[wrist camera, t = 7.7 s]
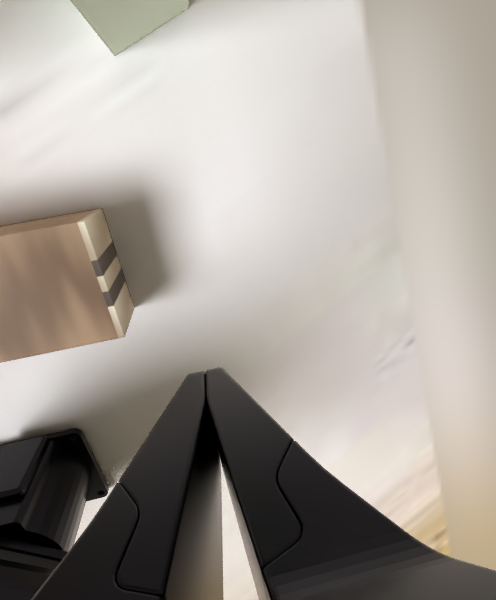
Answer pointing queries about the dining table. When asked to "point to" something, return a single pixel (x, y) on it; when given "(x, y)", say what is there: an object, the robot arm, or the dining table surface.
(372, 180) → the dining table surface
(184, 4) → the sage block
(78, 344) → the walnut block
